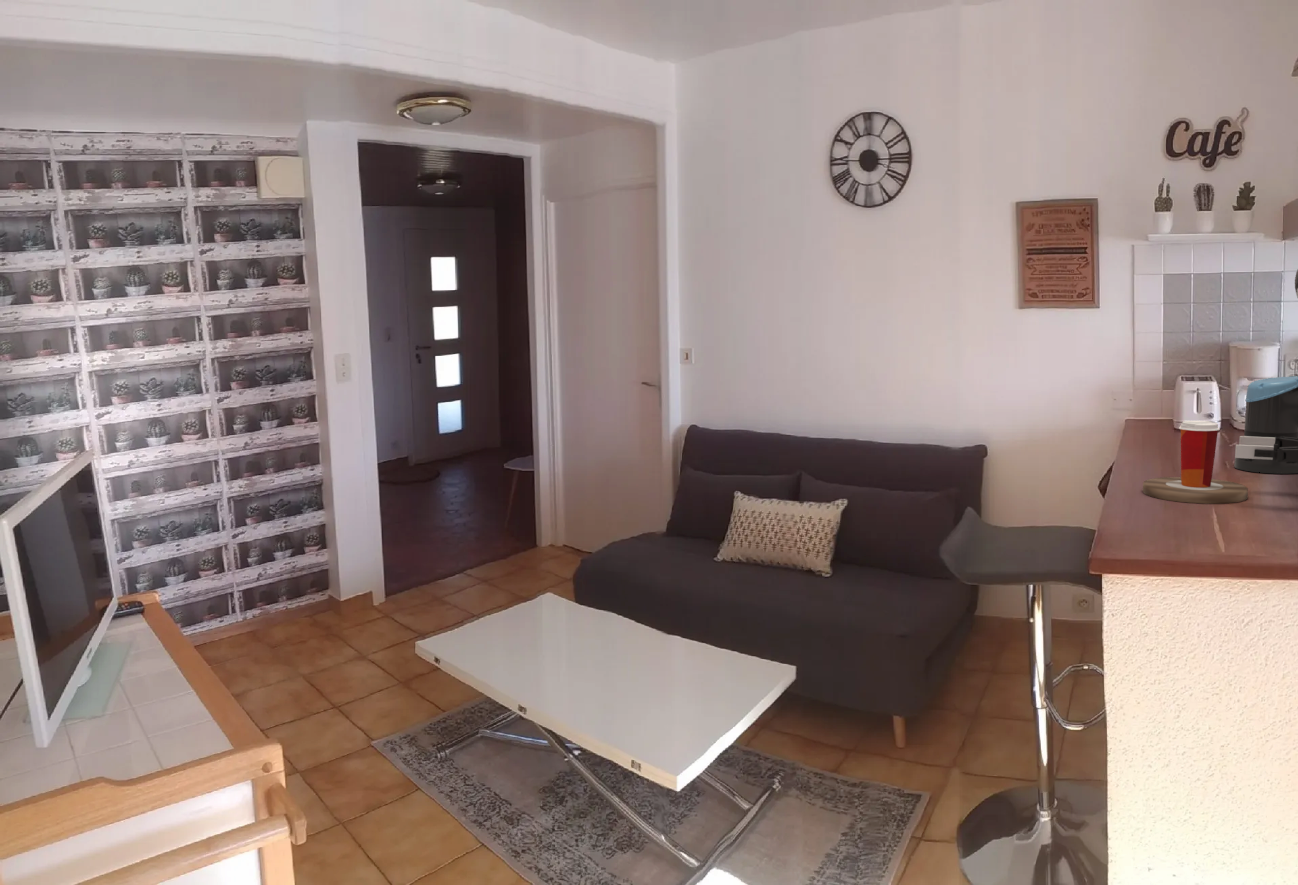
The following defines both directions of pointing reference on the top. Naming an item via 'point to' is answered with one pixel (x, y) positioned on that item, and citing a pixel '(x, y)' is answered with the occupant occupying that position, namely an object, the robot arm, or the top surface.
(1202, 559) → the top surface
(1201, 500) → the disc
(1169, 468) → the top surface
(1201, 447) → the paper cup
